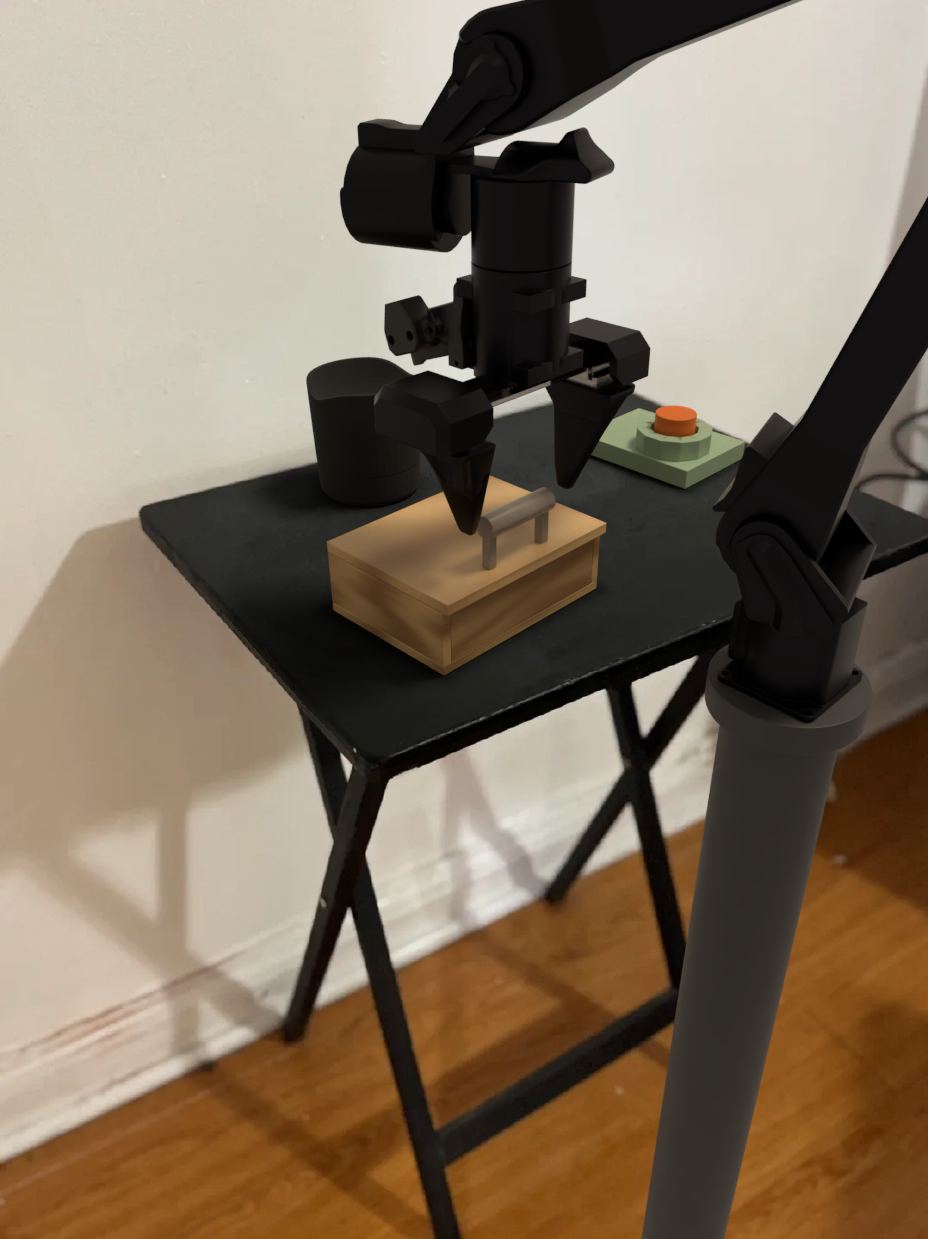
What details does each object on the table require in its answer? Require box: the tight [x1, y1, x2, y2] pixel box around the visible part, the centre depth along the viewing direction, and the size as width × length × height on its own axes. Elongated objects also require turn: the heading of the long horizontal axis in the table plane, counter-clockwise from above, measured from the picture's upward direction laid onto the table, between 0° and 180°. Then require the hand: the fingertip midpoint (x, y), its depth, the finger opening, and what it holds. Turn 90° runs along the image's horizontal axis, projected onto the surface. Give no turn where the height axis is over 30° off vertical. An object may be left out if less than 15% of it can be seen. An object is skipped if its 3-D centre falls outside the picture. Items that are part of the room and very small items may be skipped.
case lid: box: [326, 475, 607, 616], centre depth 71 cm, size 12×15×5 cm
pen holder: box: [305, 356, 422, 507], centre depth 89 cm, size 9×9×10 cm
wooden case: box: [327, 535, 601, 676], centre depth 74 cm, size 11×15×5 cm
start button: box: [654, 405, 698, 437], centre depth 92 cm, size 4×4×2 cm
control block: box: [591, 407, 746, 490], centre depth 95 cm, size 12×9×4 cm
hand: (517, 509), depth 67 cm, fingers open, 9 cm apart
